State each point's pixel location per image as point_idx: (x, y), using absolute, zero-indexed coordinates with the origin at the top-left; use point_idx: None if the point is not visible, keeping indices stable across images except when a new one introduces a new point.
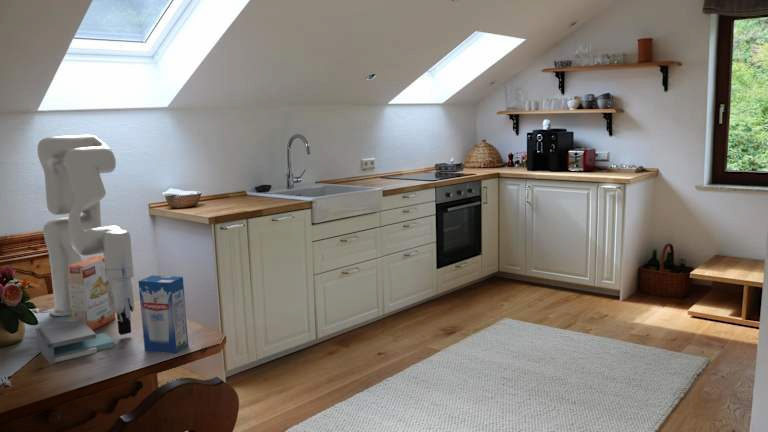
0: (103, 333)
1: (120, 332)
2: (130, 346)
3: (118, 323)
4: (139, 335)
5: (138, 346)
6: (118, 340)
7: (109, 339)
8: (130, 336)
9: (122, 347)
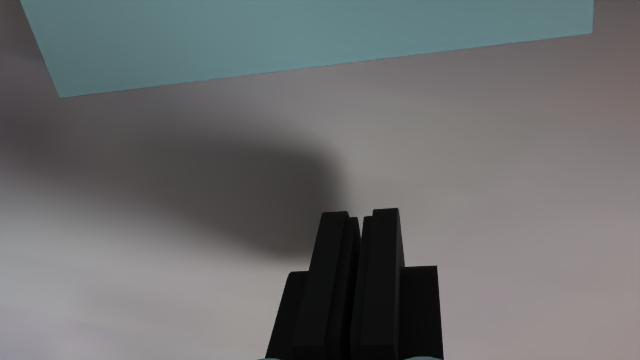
0: (550, 15)
1: (319, 230)
2: (32, 212)
3: (365, 313)
4: None
5: (7, 267)
6: (303, 147)
7: (174, 55)
8: None
9: (26, 141)
